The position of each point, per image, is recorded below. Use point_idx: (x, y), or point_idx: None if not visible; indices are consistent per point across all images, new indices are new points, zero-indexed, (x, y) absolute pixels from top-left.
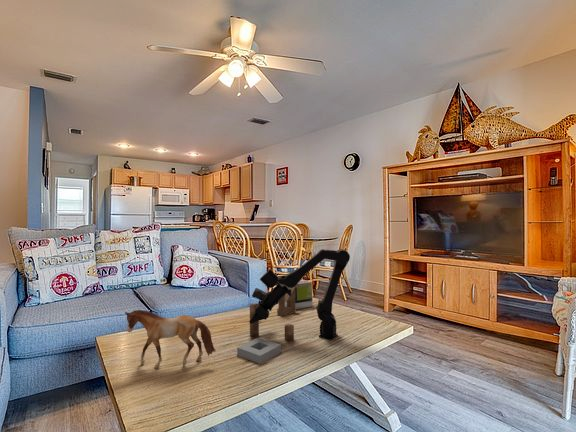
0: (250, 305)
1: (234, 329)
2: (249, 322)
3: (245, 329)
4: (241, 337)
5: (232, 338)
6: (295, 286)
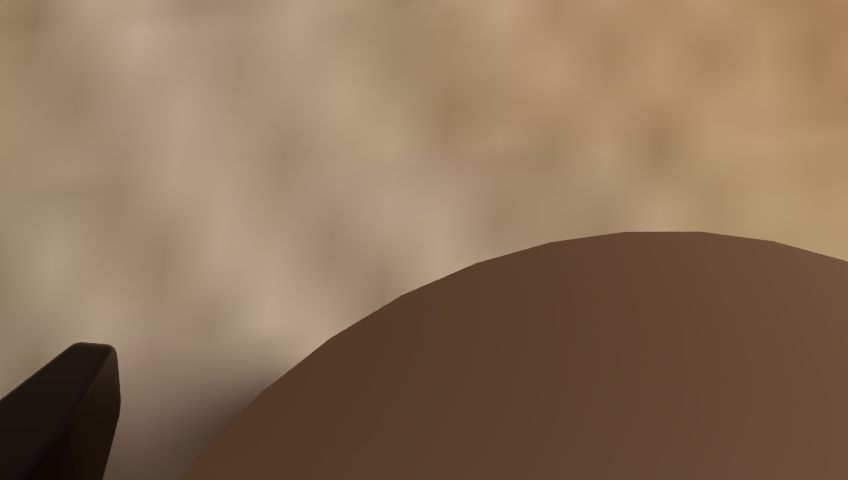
0: (310, 359)
1: (749, 26)
2: (82, 357)
3: None
4: (319, 193)
5: (282, 21)
6: None
